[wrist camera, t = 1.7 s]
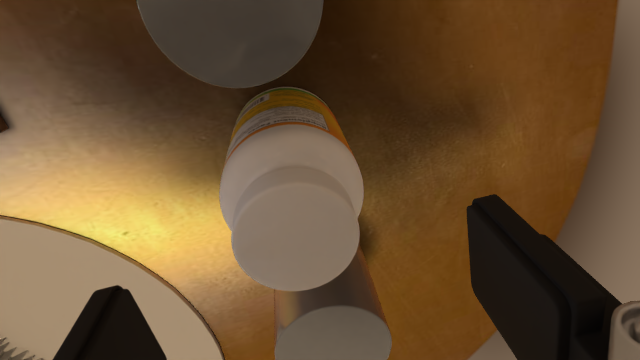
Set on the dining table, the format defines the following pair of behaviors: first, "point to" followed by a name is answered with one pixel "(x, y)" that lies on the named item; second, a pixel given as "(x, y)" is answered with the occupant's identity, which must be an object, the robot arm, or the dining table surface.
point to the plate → (82, 294)
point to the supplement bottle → (291, 191)
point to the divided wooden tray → (2, 125)
